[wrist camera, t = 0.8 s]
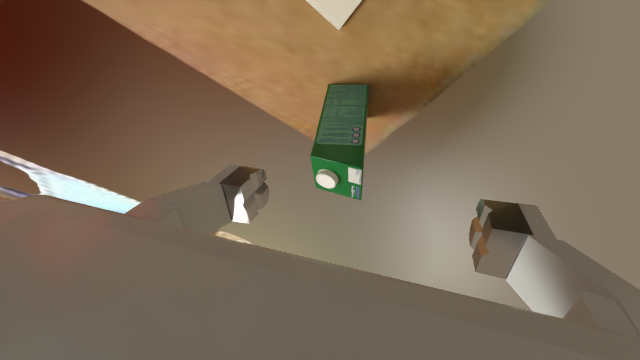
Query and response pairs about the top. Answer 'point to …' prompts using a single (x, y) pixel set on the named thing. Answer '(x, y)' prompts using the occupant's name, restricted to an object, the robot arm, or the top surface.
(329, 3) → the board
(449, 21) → the top surface
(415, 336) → the robot arm
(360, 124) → the milk carton
